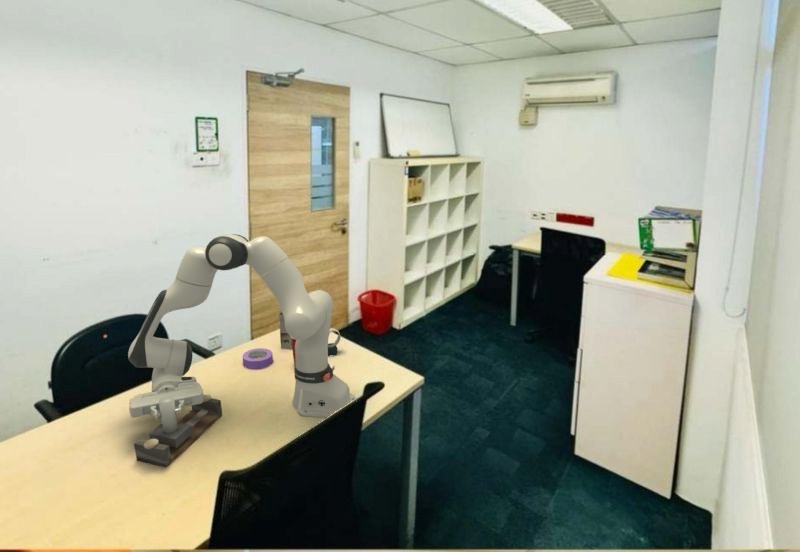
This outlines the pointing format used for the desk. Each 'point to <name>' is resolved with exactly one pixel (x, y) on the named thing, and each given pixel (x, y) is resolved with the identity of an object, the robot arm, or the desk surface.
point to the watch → (333, 344)
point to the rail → (200, 421)
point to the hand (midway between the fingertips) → (168, 414)
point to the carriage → (170, 425)
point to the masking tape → (253, 363)
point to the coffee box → (284, 334)
